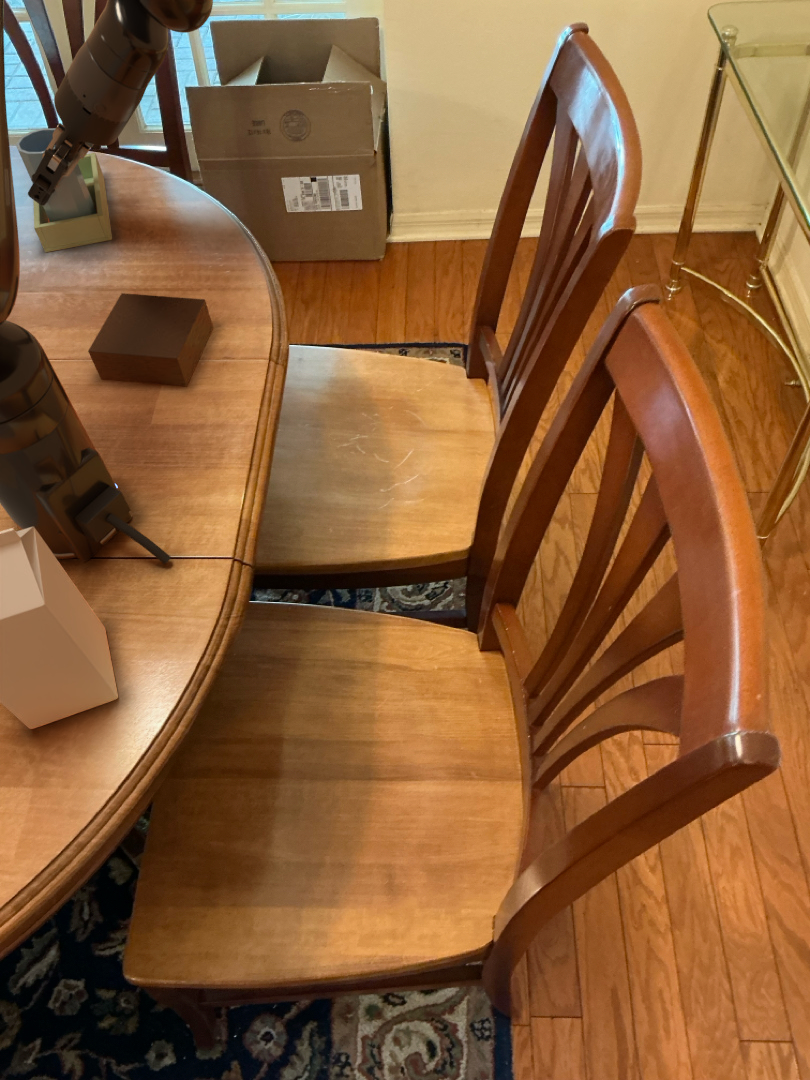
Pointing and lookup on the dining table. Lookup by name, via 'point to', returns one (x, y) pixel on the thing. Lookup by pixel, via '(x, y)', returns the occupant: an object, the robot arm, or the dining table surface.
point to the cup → (72, 189)
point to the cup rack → (79, 227)
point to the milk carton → (47, 637)
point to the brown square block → (152, 339)
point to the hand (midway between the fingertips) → (47, 184)
